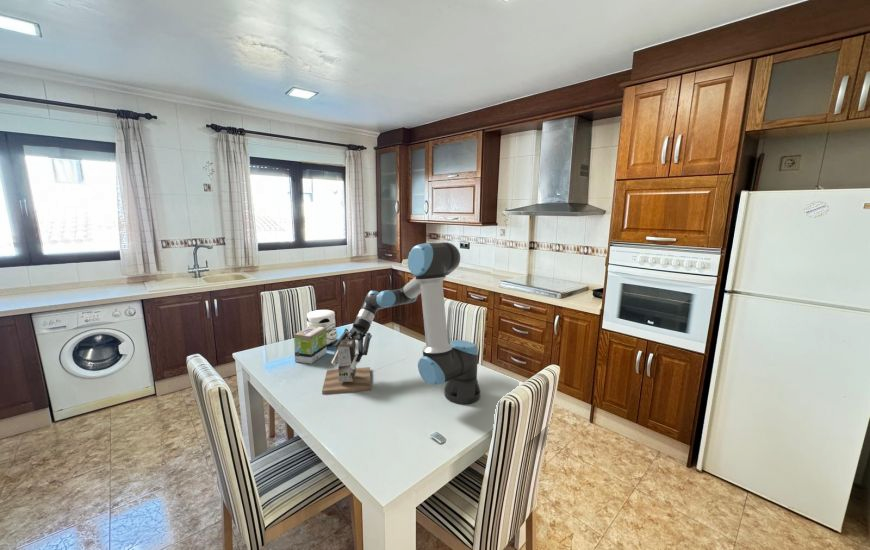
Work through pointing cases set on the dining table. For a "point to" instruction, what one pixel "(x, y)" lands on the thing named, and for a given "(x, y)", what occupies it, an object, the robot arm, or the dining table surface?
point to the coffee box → (346, 360)
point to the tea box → (310, 344)
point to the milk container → (324, 323)
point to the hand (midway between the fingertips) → (342, 366)
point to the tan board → (358, 384)
